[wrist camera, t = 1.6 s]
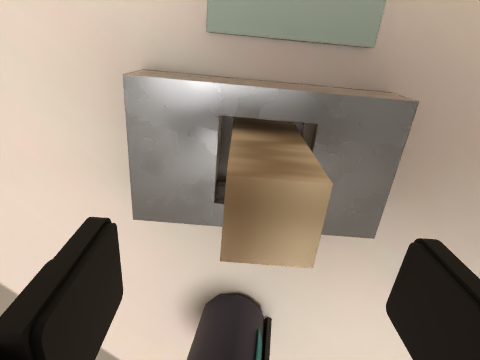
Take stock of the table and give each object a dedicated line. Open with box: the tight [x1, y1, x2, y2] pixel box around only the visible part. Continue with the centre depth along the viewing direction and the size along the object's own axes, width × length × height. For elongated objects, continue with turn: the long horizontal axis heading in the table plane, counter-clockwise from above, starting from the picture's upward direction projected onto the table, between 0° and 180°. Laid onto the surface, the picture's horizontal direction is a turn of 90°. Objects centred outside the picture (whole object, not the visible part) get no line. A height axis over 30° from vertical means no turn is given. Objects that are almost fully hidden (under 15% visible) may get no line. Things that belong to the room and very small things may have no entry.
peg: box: [220, 117, 333, 268], centre depth 16 cm, size 4×4×10 cm
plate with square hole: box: [123, 70, 419, 239], centre depth 19 cm, size 16×9×4 cm, turn 85°
